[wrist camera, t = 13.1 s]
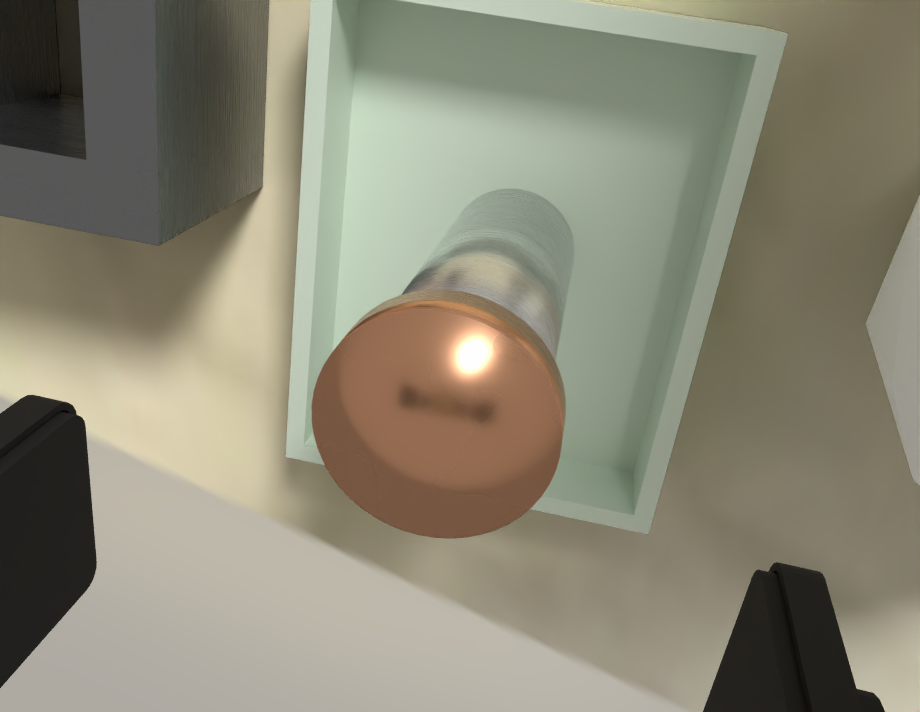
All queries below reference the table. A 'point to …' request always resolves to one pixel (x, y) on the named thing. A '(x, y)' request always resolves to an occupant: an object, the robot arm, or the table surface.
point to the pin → (456, 378)
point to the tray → (546, 174)
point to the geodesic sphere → (901, 338)
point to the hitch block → (133, 114)
